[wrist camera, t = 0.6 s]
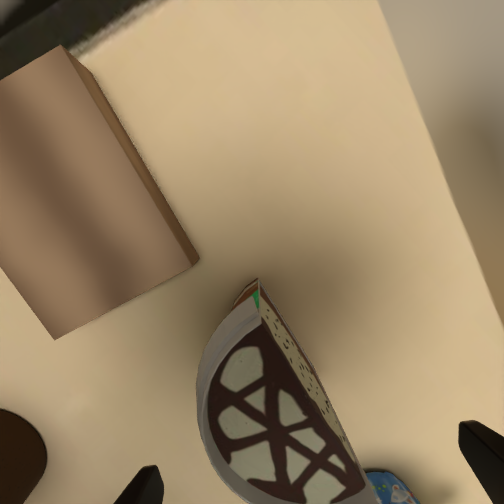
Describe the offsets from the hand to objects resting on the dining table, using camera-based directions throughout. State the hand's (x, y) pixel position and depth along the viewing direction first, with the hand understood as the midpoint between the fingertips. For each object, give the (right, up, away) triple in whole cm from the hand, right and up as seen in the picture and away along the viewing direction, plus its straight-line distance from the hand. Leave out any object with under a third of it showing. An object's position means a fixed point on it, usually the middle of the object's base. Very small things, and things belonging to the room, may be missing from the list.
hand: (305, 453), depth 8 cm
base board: (-14, +9, +12) cm, 21 cm away
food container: (-1, -2, +14) cm, 14 cm away
